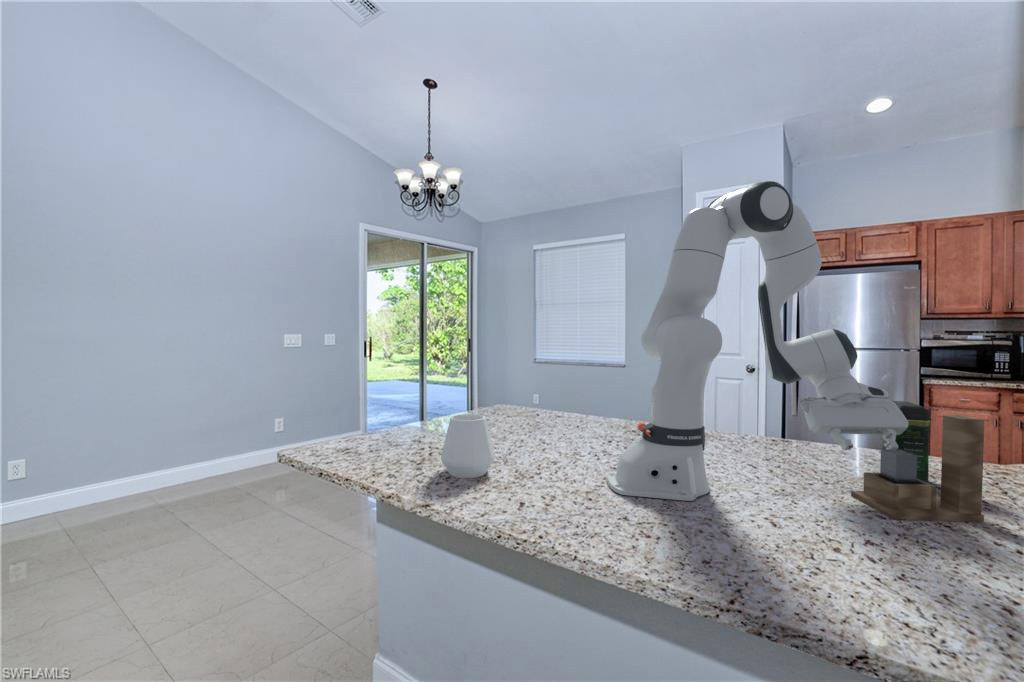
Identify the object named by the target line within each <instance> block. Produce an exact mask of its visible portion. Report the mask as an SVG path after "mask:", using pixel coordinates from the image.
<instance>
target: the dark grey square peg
mask: <svg viewBox="0 0 1024 682" xmlns="http://www.w3.org/2000/svg"><path fill="white" fill-rule="evenodd" d="M879 469H880V470H879V473H880V478H883V479H885V480H887V481H890V482H892V483H894V484H916V482H917V455H916V454H913V453H910V452H907V451H904V450H899V449H880V468H879Z"/></svg>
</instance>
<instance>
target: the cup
mask: <svg viewBox="0 0 1024 682" xmlns="http://www.w3.org/2000/svg"><path fill="white" fill-rule="evenodd" d="M440 457H441V463H442V464H443V466H444V468H445V469H446V470H447V472H448V474H449V475H450V476H452V477H453V478H459V479H475V478H480V477H483V476H484V475H485V474H487V472H488V471H489V469H490V467H491V466H492V464H493V462H494V460H495V458H496V457H495V451H494V447H493V443H492V439H491V435H490V431H489V427H488V422H487V419H486V416H484V415H482V414H477V413H461V414H455V415H451V416H450V418H449V423H448V427H447V430H446V434H445V438H444V444H443V446H442V450H441V456H440Z"/></svg>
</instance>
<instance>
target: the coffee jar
mask: <svg viewBox="0 0 1024 682" xmlns="http://www.w3.org/2000/svg"><path fill="white" fill-rule="evenodd" d="M891 401H892V402H894V403H895V404H896V405H897V406H898V408H899V409H900V410H901V412H902V413H903V415H904V416H905V418H906V419H907V421H908V428H907V429H906V430H905V431H904V432H903V433H902V434H900V435H896V439H895V441H896V443H897V445H898V449H899V450H904V451H907V452H910V453H913V454H916V455H917V479H919V480H922V481H925V482H927V483H929V475H930V474H929V472H930V471H929V467H930V465H929V461H930V460H929V457H930V455H929V454H930V453H929V452H930V451H929V448H930V447H929V446H930V427H931V412H930V410H929V409H927V408H926V407H924V406H922V405H919V404H915V403H912V402H910V401H904V400H903V401H902V400H891ZM887 439H888V438H884V436H883V435H882V449H886V447H885V446H884V443H886V442H887Z"/></svg>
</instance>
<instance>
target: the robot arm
mask: <svg viewBox="0 0 1024 682" xmlns="http://www.w3.org/2000/svg"><path fill="white" fill-rule="evenodd" d="M751 237H753V238H754V239H755V240H756V241H757V243H758V244H759V248H760V252H761V255H762V258H763V260H764V263H765V264H764V265H765V275H764V279H763V281H762V282H760V284H759V285H758V291H757V296H758V297H757V298H758V308H759V315H760V322H761V328H762V334H763V335H762V336H763V342H764V350H765V351H764V353H765V354H764V362H765V367H766V370H767V372H768V374H769V376H770V377H771V378H772V380H775V381H778V382H780V383H783V384H787V385H790V384H793V383H796V382H798V381H802V380H803V379H805V378H808V380H809V381H810V383H811V384H812V385H813V386H814V387H815V392H816V394H817V397H816V396H815V397H811V396H806V397H805V396H804V398H802V399H800V407H801V409H802V411H804V416H805V420H806V423H807V426H808V428H809V430H810V431H811V432H812V433H814V434H819V435H821V434H822V435H825V434H827V435H829V436H830V438H831V439H832V440H834V441H835V442H836V443H837V444H839V446H840V447H841V449H842V450H843V451H847V450H848V451H850V450H852V449H853V448H854V444H853V443H852V441H851V439H847V438H846V437H844V436H843V435H879V436H880V435H882V437H883V436H884V438H888V439H887V442H886V443H884V446H885V447H886V449H898V445H897V443H896V441H895V439H896V435H900V434H902V433H903V432H904V431H905V430H906V429H907V428H908V421H907V419H906V418H905V416H904V415H903V413H902V412H901V410H900V409H899V408H898V406H897V405H896V404H895V403H894V402H892V401H893V400H890V399H889V397H890V394H889V393H888V391H887V390H886V389H883V388H878V387H875V386H871V385H867V384H865V383H861V382H858V380H857V379H856V378H855V377H854V375H852V372H851V370H852V369H853V368H854V366H855V364H856V361H857V360H858V353H857V349H856V348H855V346H854V344H853V342H852V341H851V340H850V338H849V336H848V335H847V334H846V333H845V332H843V331H841V330H838V329H835V328H831V329H830V328H829V329H825V330H822V331H818V332H814V333H811V334H808V335H806V336H803V337H799V338H795V339H791V340H788V341H784V335H783V329H782V328H783V327H782V320H781V310H782V308H783V306H784V305H785V304H786V303H787V301H788V300H790V299H791V298H792V297H793V296H794V295H795V294H797V293H798V292H800V291H801V290H803V289H804V288H806V287H807V286H808V285H809V284H810V283H811V282H812V281H813V280H815V278H816V277H817V275H818V274H819V272H820V271H821V270H820V269H821V267H822V264H823V262H822V255H821V254H822V253H821V251H820V248H819V244H818V241H817V238H816V236H815V233H814V231H813V228H812V227H811V225H810V223H809V220H808V219H807V217H806V215H805V213H804V212H803V211H802V208H800V207H799V206H798V205H797V204H795V203H793V199H792V197H791V195H790V193H789V191H788V190H787V189H786V188H785V187H784V186H783V185H782V184H780V183H779V182H777V181H771V180H770V181H769V180H767V181H758V182H755V183H753V184H751V185H749V186H744V187H742V188H738V189H734V190H732V191H730V192H728V193H726V194H723V196H721V197H718V198H716V199H714V200H713V201H711V202H710V203H708V205H707V206H700V207H698V208H695V209H692V210H691V211H689V212H688V214H687V215H686V216H685V218H684V221H683V222H682V224H681V227H680V229H679V231H678V234H677V237H676V241H675V243H674V246H673V251H672V255H671V259H670V263H669V267H668V270H667V275H666V278H665V283H664V286H663V288H662V291H661V294H660V296H659V298H658V300H657V303H656V304H655V308H654V310H653V312H652V314H651V316H650V318H649V321H648V323H647V324H646V325H645V326H644V329H643V330H642V333H641V336H640V337H641V340H640V341H641V345H642V347H643V349H644V350H645V352H646V353H647V354H648V355H650V356H651V357H652V358H653V359H655V360H657V361H660V365H659V370H658V374H657V378H656V381H655V383H654V384H653V387H652V388H651V421H650V422H649V423H647V424H646V423H644V422H642V421H640V422H638V423H637V425H636V428H637V430H639V432H641V433H642V434H641V435H642V438H641V439H640V440H638V441H637V442H635V443H634V444H633V445H632V446H630V447H628V448H627V449H625V450H624V451H623V452H622V453H621V454H620V455H619V457H618V461H617V464H616V465H617V466H616V470H613V471H610V472H608V473H607V477H606V483H607V485H608V487H609V488H610V489H611V490H612V491H614V492H615V493H616V494H619V495H622V496H631V497H639V498H640V497H641V498H653V499H654V498H655V499H665V500H673V501H683V502H684V501H685V502H687V501H688V502H692V501H695V500H696V499H697V498H698V497H701V496H704V495H706V494H708V493H709V492H710V491H711V488H710V484H709V481H708V478H707V472H706V467H705V457H704V451H705V445H706V430H705V429H706V427H705V426H704V424H703V423H704V422H703V421H704V420H703V419H704V393H705V387H706V383H707V379H708V375H709V372H710V369H711V366H712V363H713V362H714V360H715V359H716V358H717V356H718V355H719V354H720V352H721V350H722V345H723V336H722V332H721V330H720V329H719V327H718V326H717V324H715V323H714V322H713V321H712V320H709V319H707V318H705V317H702V316H703V313H704V312H705V309H706V308H707V306H708V305H709V304H710V302H711V301H712V300H713V299H714V297H715V296H716V294H717V291H718V286H719V283H720V278H721V274H722V270H723V266H724V262H725V258H726V253H727V246H729V245H728V244H729V242H730V241H732V240H738V239H739V240H740V239H748V238H751Z"/></svg>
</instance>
